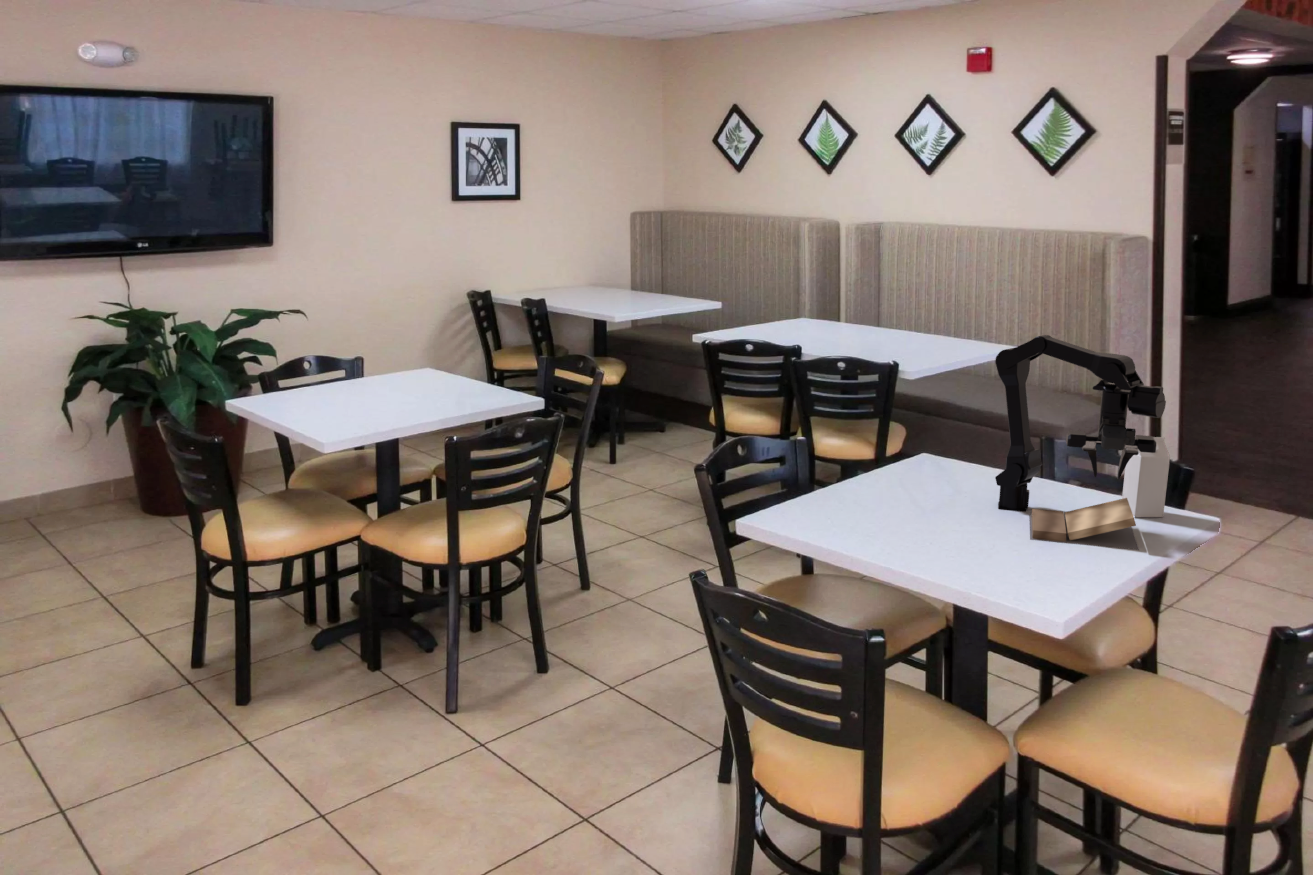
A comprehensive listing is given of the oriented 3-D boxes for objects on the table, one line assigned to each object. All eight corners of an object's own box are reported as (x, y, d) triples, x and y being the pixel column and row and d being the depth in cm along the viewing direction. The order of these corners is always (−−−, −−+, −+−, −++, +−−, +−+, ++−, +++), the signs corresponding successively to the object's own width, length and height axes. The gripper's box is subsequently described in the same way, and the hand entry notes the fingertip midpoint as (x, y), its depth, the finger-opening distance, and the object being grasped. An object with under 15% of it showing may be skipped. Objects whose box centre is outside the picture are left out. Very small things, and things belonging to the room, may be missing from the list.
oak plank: (1070, 540, 248) (1067, 532, 248) (1066, 519, 264) (1064, 512, 263) (1136, 525, 243) (1133, 517, 243) (1128, 504, 259) (1126, 497, 258)
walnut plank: (1032, 538, 250) (1033, 530, 249) (1031, 516, 266) (1032, 508, 266) (1065, 541, 248) (1066, 533, 247) (1062, 519, 264) (1063, 511, 264)
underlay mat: (1029, 541, 249) (1030, 539, 249) (1029, 516, 268) (1029, 515, 267) (1138, 551, 242) (1139, 549, 242) (1130, 525, 261) (1130, 524, 261)
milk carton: (1120, 509, 274) (1128, 434, 270) (1148, 509, 275) (1157, 434, 271) (1134, 518, 267) (1143, 440, 263) (1163, 517, 268) (1172, 440, 264)
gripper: (1071, 415, 248) (1065, 482, 252) (1162, 421, 243) (1154, 490, 246) (1069, 406, 259) (1063, 471, 262) (1156, 411, 253) (1149, 478, 257)
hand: (1106, 477), depth 257 cm, fingers open, 5 cm apart
